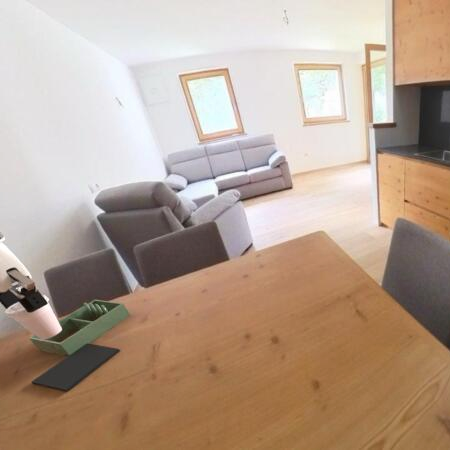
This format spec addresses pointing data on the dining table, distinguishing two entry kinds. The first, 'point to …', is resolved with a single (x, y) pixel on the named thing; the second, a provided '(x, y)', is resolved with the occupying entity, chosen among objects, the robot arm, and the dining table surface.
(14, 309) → the smoothie
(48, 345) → the rack
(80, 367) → the mat
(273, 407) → the dining table surface
